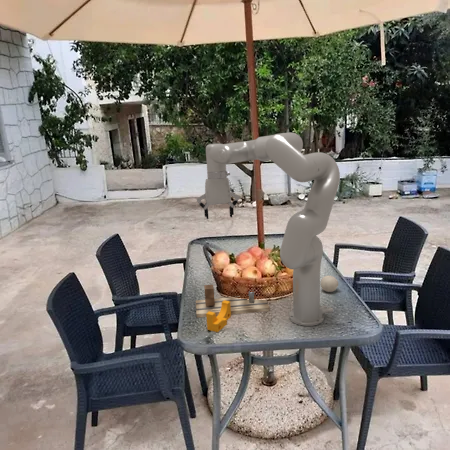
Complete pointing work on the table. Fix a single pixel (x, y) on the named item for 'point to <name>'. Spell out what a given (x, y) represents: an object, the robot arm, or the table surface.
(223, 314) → the pipe clamp
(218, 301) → the board
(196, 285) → the table surface
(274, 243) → the table surface
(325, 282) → the baseball
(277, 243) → the table surface
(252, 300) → the fixed leg
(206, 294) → the block
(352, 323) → the table surface
